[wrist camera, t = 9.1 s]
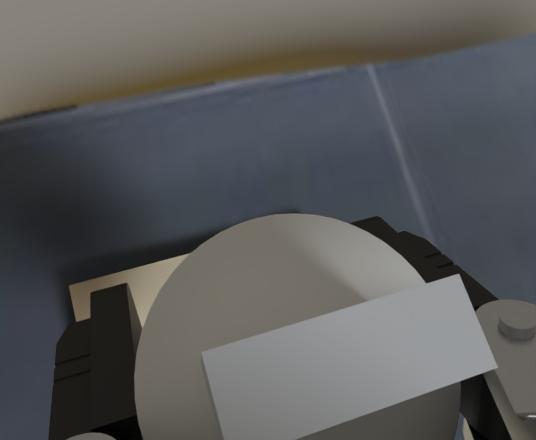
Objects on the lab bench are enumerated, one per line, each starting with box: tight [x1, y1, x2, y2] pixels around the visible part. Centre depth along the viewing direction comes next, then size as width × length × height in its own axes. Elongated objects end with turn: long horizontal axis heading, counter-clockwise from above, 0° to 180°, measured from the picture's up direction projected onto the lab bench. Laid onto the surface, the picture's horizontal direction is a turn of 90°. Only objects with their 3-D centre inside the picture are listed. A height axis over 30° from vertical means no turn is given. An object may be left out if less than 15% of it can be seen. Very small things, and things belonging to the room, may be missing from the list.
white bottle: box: [134, 213, 498, 440], centre depth 10 cm, size 5×5×11 cm
